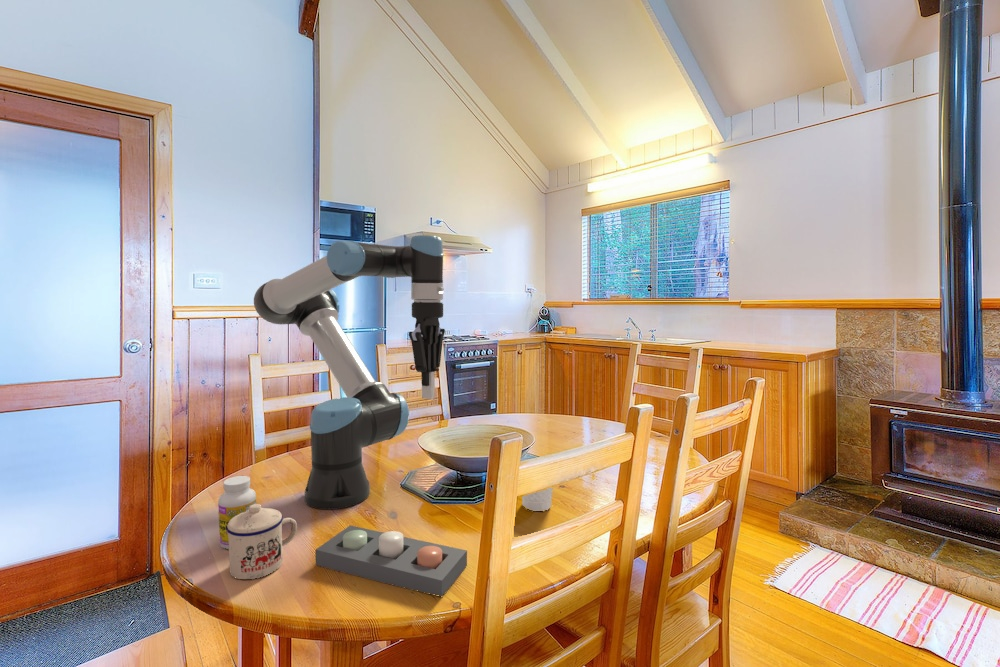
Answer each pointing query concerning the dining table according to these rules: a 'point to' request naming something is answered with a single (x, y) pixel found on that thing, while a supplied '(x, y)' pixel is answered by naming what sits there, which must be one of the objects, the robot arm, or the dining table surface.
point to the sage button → (355, 539)
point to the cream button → (391, 544)
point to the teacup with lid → (257, 542)
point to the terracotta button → (429, 556)
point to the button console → (393, 563)
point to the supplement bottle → (233, 503)
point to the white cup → (538, 500)
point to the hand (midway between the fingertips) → (428, 398)
